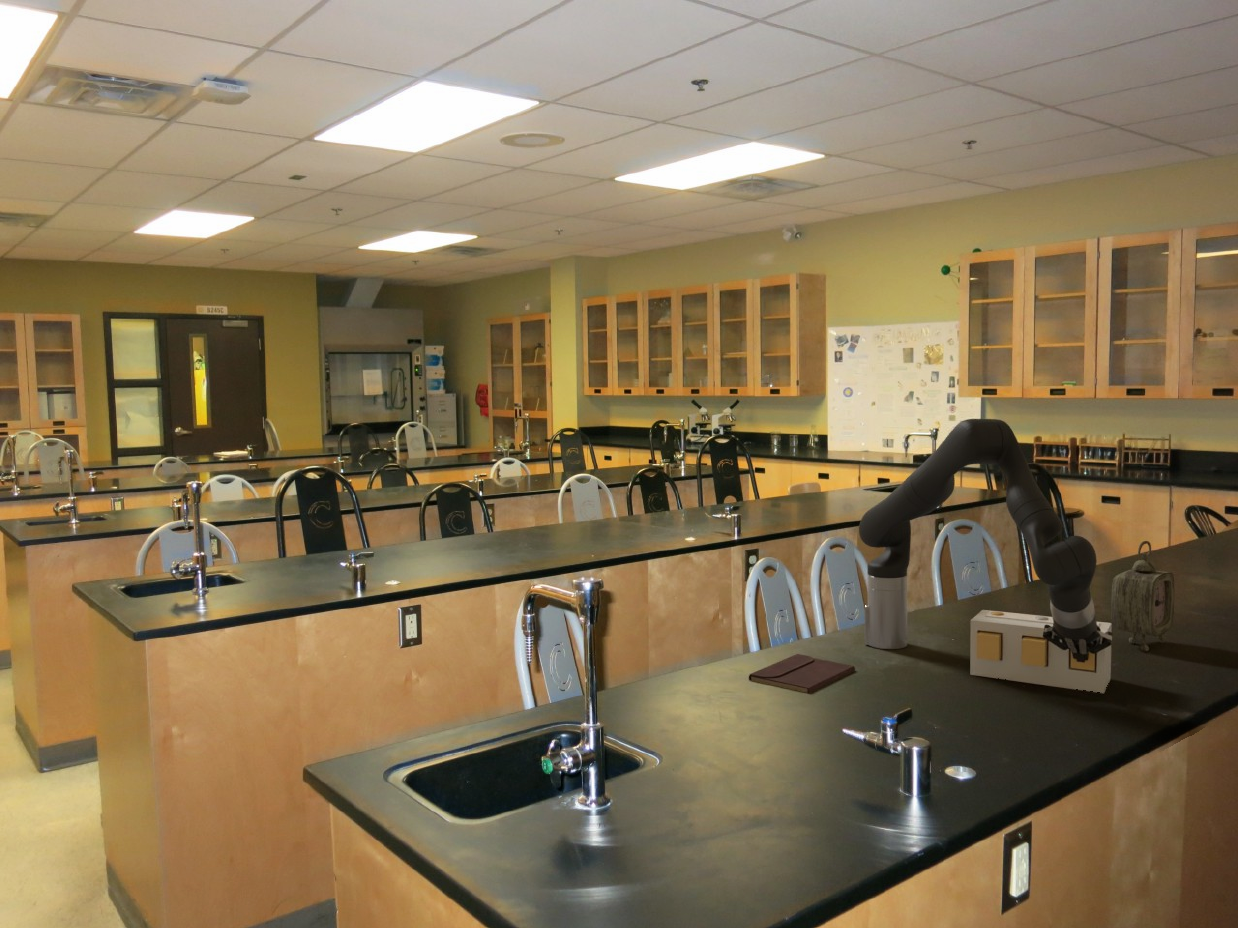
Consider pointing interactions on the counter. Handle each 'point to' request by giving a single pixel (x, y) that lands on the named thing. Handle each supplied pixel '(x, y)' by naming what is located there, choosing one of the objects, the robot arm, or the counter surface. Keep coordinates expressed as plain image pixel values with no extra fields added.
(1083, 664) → the button
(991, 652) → the button
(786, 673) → the notebook
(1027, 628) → the button console
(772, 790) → the counter surface
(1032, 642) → the middle button
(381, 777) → the counter surface
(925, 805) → the counter surface
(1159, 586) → the tabletop clock
